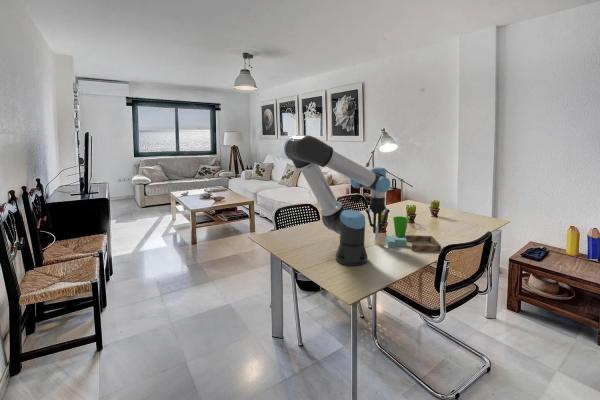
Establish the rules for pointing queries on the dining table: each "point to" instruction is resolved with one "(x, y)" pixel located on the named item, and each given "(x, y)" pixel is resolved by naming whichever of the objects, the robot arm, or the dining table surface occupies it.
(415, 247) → the corral
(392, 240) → the tee
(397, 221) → the cup
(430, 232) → the dining table surface
